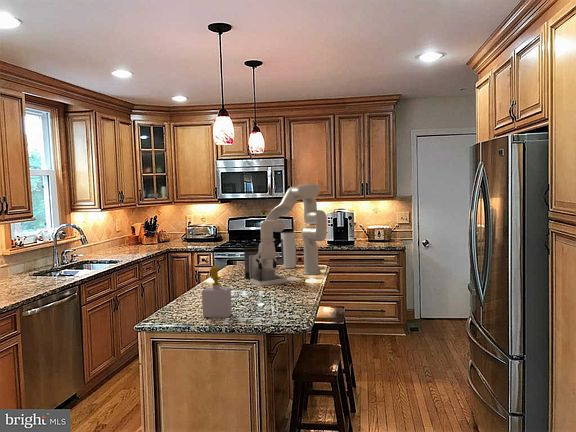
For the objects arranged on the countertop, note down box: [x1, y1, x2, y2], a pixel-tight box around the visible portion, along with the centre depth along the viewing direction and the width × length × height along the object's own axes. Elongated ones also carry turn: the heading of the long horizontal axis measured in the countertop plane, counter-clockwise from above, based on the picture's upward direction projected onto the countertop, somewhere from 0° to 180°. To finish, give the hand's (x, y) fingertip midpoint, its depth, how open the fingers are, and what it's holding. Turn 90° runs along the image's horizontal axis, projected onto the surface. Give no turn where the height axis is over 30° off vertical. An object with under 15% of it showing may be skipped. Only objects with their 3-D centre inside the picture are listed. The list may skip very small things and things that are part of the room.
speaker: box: [280, 231, 297, 269], centre depth 356 cm, size 11×10×26 cm
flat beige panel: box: [286, 276, 304, 283], centre depth 309 cm, size 10×12×1 cm
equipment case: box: [249, 255, 288, 287], centre depth 301 cm, size 18×14×17 cm
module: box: [262, 268, 275, 281], centre depth 301 cm, size 5×7×8 cm
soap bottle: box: [201, 265, 233, 319], centre depth 227 cm, size 12×7×23 cm, turn 80°
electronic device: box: [243, 247, 259, 280], centre depth 316 cm, size 9×6×20 cm, turn 84°
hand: (267, 268), depth 300 cm, fingers open, 9 cm apart
